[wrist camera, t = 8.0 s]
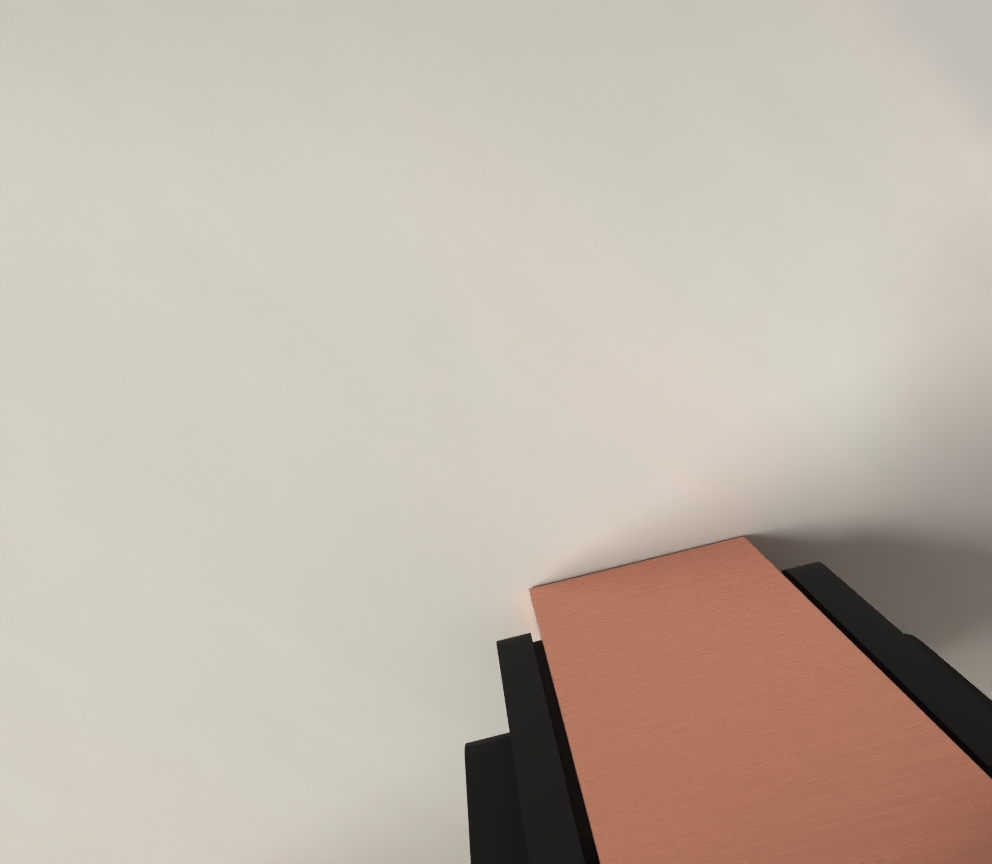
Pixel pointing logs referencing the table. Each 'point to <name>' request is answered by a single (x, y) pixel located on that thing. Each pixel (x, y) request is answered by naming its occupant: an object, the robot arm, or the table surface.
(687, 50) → the table surface
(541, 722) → the robot arm
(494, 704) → the table surface
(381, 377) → the table surface
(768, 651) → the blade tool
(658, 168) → the table surface
